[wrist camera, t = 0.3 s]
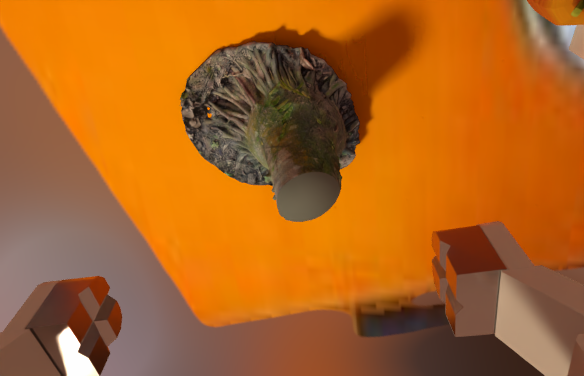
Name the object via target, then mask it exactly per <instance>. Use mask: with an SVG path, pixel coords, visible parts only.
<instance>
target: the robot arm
mask: <svg viewBox="0 0 584 376" xmlns="http://www.w3.org/2000/svg"><path fill="white" fill-rule="evenodd" d="M432 247H433V249H434V252H435V254H436V256H435V257H434V258H433V260H432V272H433V278H434V284H435V287H436V291H437V293H438V296H439V298H440V300H442V301H443V302H445V303H446V316H447V318H448V321H449V323H450V325H451V328H452V330H453V333H454V335H455V337H462V336H473V335H485V334H495V336H496V337H497V338H499V339H500V340H501V341H503V342H504V343H505V344H506V345H508V346H509V347H510V348H511V349H513V350H514V351H515V352H516V353H518V354H519V355H520V356H521V357H523V358H524V359H525V360H527V361H528V362H529V363H530V364H531V365H533V366H534V367H535V368H536V369H538V370H539V371H540V372H542V373H543V374H544V375H545V376H584V285H583V284H580V283H578V282H576V281H573V280H572V279H570V278H568V277H565V276H563V275H561V274H559V273H557V272H555V271H553V270H550V269H548V268H546V267H544V266H542V265H541V266H534V264H533V263H532V262H531V260H530V259H529V258H528V256H527V255H526V254H525V252H524V251H523V250H522V248H521V247H520V246H519V244H518V243H517V242H516V240H515V239H514V238H513V236H512V235H511V234H510V232H509V231H508V230H507V228H506V227H505V226H504V224H503V223H501V222H499V221H497V222H491V223H484V224H478V225H476V226H469V227H462V228H455V229H447V230H440V231H433V233H432ZM109 289H110V287H109V285H108V284H107V282H106V280H105V278H103V277H100V276H95V277H85V278H77V279H68V280H62V281H51V282H44V283H42V284H40V285H38V286H37V287H36V288H35V290H34V291H33V292H32V294H31V295H30V296H29V298H28V299H27V300H26V302H25V303H24V304H23V306H22V307H21V308H20V310H19V311H18V312H17V314H16V315H15V317H14V318H13V319H12V320H11V322H10V323H9V324H8V325H7V327H6V328H5V330H4V331H3V332H1V333H0V376H100V375H101V373H102V370H103V368H104V366H105V364H106V362H107V359H108V357H109V355H110V351H109V349H108V346H109V345H110V344H111V343H112V342H113V341H114V340H115V339H116V338H117V336H118V334H119V332H120V330H121V323H122V314H121V309H120V307H119V304H118V302H117V301H116V300H115V299H113V298H112V297H110V296H109V295H108V292H109Z"/></svg>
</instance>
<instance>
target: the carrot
mask: <svg viewBox="0 0 584 376" xmlns="http://www.w3.org/2000/svg"><path fill="white" fill-rule="evenodd" d="M527 1H528V3H529V4H530V5H531V7H532V8H533V9H534V10H535V11H536V12H537V13H539V14H540V15H541V16H543V17H544V18H546V19H547V20H549V21H550V22H552V23H553V24H555V25H584V0H527Z"/></svg>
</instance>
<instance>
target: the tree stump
mask: <svg viewBox="0 0 584 376" xmlns="http://www.w3.org/2000/svg"><path fill="white" fill-rule="evenodd" d="M346 86H347V84H346V83H345V82H344V81H342V80H340V79H339V78H338V77H337V75H336V73H335V72H334V70H333V69H332V68H331V67H330V66H329V65H327V63H326V62H325V61H324V60H323V59H321V58H318V57H316V56H314V55H311V53H310V52H309V50H308V49H305V48H303V47H299V48H291V47H289V46H287V45H276V44H274V43H262V42H255V41H252V42H249V43H246V44H243V45H241V46H238V47H227V48H224V49H219V50H216V51H215V52H214V53H213V54H212V55H211V56H210V57H209V58H208V59H207V60H206V61H205V62H204V63H203V64H202V65H201V66H200V67H199V68H198V69H197V70H196V71H195V72H194V73H193V74H192V75H191V76H190V77H189V78H188V79H187V83H186V89H185V91H184V92H183V93H182V95H181V98H180V100H181V106H182V110H181V112H182V117H183V121H184V124H185V128H186V133H187V134H188V136H189V138H190V140H191V141H192V143H193V144H194V146H195V147H196V149H197V150H198V152H199V153H200V154H201V156H202V157H203V158H204V159H206V160H207V161H208V162H210V163H211V164H213V165H215V166H216V167H217V168H218V169H220V170H221V171H222V172H223V173H225V174H227V175H228V176H229V177H232V178H235V179H236V180H238V181H240V182H242V183H247V184H251V185H272V186H273V189H272V191H273V192H275V195H274V197H273V199H274V200H277V207H278V210H279V214H280V215H281V216H282V217H284V218H285V219H286V220H290V221H295V222H303V221H307V220H312V219H315V218H317V217H319V216H321V215H322V214H324V213H325V212H326V211H328V210H329V209H330V208H331V207H332V205H333V204H334V203H335V202H336V200H337V198H338V196H339V193H340V190H341V179H342V176H341V175H340V172H339V170H340V169H342V168H344V167H346V166H348V165H349V164H350V163H351V162H352V160H353V159H354V158H355V156H356V155H355V148H356V147H355V146H356V145H357V144H359V143H360V141H359V133H358V130H359V125H360V123H359V119H358V117H357V115H356V113H355V111H354V106H353V101H352V100H351V98H350V97H351V93H349V92H348V91H347V87H346ZM207 107H210V110H208V109H207ZM207 113H209V114H210V113H211V114H212V117H211V118H208V115H207Z"/></svg>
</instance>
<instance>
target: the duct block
mask: <svg viewBox="0 0 584 376" xmlns="http://www.w3.org/2000/svg"><path fill="white" fill-rule="evenodd" d="M569 50H570V51H572V52H573V53H575V54H576V55H578V56H579V57H581V58H583V59H584V25H577V26H576V29H575V32H574V35H573V38H572V41H571V44H570V47H569Z"/></svg>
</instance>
